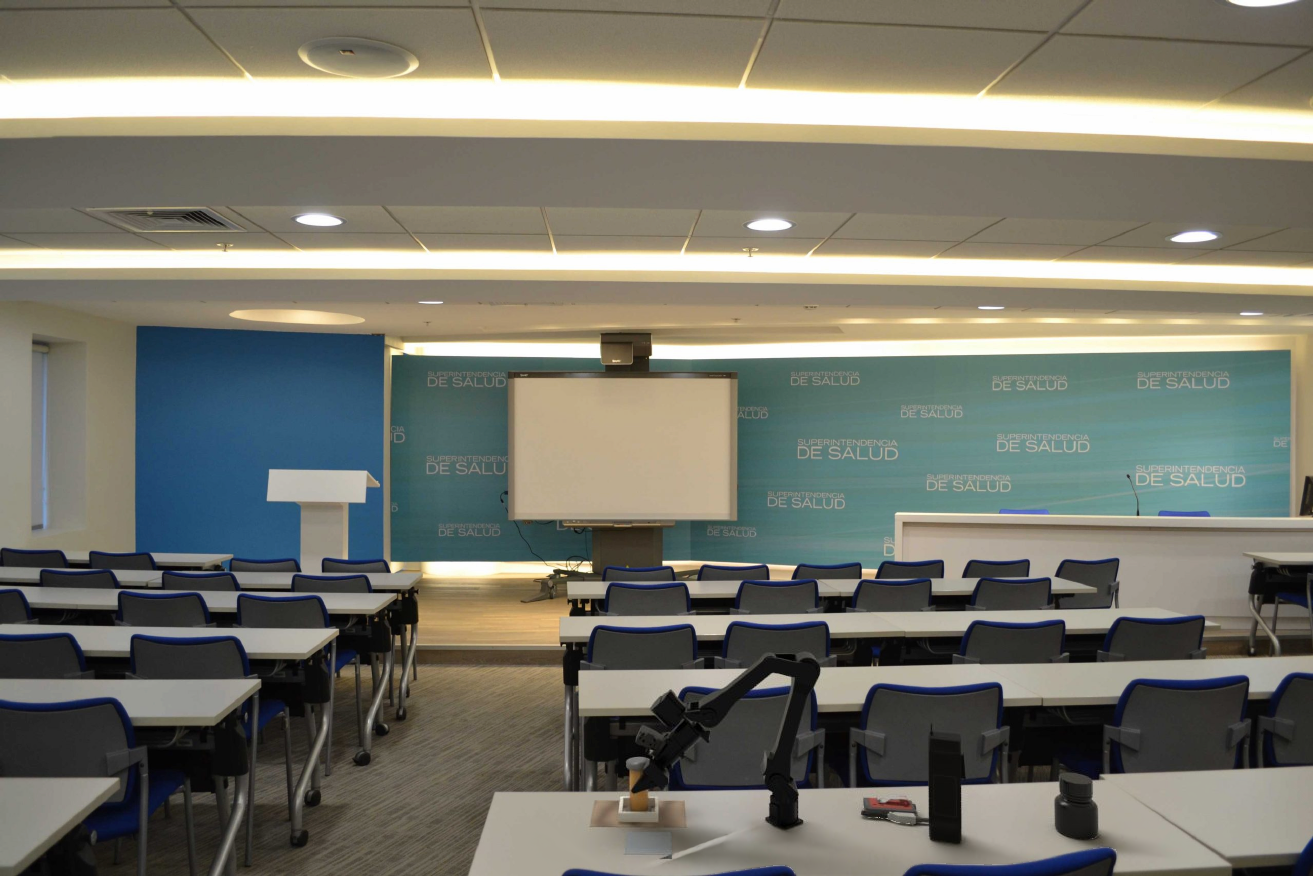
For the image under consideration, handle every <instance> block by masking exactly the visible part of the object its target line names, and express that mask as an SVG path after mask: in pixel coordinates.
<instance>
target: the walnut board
mask: <svg viewBox="0 0 1313 876" xmlns="http://www.w3.org/2000/svg"><path fill="white" fill-rule="evenodd" d="M619 803H620V800H610V799H609V800H599V799H598V800H594V801H593V805H592V806H593V807H592V813H591V817H590V822H589V823H590V824H589V828H687V816H686V814H687V813H686V804H685V803H686V802H685V800H658V822H618V812H619ZM627 807H628V806H623V812H626V808H627ZM650 807H651V808H652V812H655V806H650Z"/></svg>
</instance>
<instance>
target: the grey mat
mask: <svg viewBox="0 0 1313 876" xmlns="http://www.w3.org/2000/svg"><path fill="white" fill-rule="evenodd" d="M625 833H626V834H625V846H624V855H667V856H664V857H661V858H659V859H660V860H672V859H673V849H672V848H673V847H672V846H673V845H672V832H671V831H669V832H668V831H663V832H662V831H626V832H625Z"/></svg>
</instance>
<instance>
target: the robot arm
mask: <svg viewBox="0 0 1313 876" xmlns="http://www.w3.org/2000/svg"><path fill="white" fill-rule="evenodd" d="M821 670H822V669H821V667H820V664H819V662H818V661H817V659H816V657H815V655H814V654H812V653H811V652H809V651H800V652H798V653H791V652H784V653H783V652H781V653H777V652H776V653H775V652H771V651H769V652H765V653H763V654H762V656H761V657H760V658H758V660H756V661H755V662H754V663H753V664H751V665H750V666H749V667H747V669H745V670H744V671H743V672H742V673H741V674H739V675H738V676H737V677H735V678H734V679H733V680H732V681H730V682H729V683H728V684H727V685H726V686H724V687H722V688H721V689H717V690H715V691H713V692H710V693H709V694H707V695H705V696H703V697H702V698H701V699H700V700H695V701H687V702H685V703H684V702H683V701H682V700H681V699H680V698H679V697H678V696H677V694H676V693H675V691H674V690H672V689H669V690H668V691H666V692H665V693H663V694H662V695H660V696H659V697H657V699H656V700H655V701H654V702H653V703H652V704H651V706H650V707H649V711H650V712H651V713H652V714H654V716H655V717H656V718H657V719H658V720H659V721H660V722H661V723H662V724H663V725H664V726H665V727H666V728H668V727H669V728H673V729H672V730H671V731H668V732H667V731H666V732H665V733H664V734H661V733H659V732H658V731H656V730H654V729H652V728H651V727H648V726H647V725H645V724H641V726H640V728H639V731H637V732H638V733H637V735H636V736H635V741H634V742H635V743H636V744H637V746H638V745H639V746H643V748H646V749H645V758H648V759H649V760H648V761H647V762H646V764H645V763H644V764H643V773H642V775H641V776H640V778H639V779H638V780H637V782H636V783H635V784H634V786H633V787H632V789H631V792H632V793H633V794H635V793H638V792H641V791H644V790H648V791H649V790H650V789H655V788H657V787H658V788H659V789H660V790H662V791H663V790H664V789H665V788H667V786H668V785H669V782H670V772H671V771H672V770H673V769H674V765H676V763H677V762H678V761H679V760H680V759H681V760H683V759H685V757H686V753H687V752H688V751H689V750H690V749H691V748H693V746H694V745H695V744H697V742H698V741H700V740H701V738H702V740H703V741H704V742H705V743H706V744H710V740H711V739H710V734H711V729H714V728H716V727H717V726H719V724H720V723H721V722H722V721H723V720H724V718H726V716H727V715H728V713H730V710H731V709H732V708H733V707H734V705H735V704H736V703H737V702H738V701H740V700H741V699H742V698H743V697H745V696H746V695H747V694H748V693H749V692H751V691H752V690H753V689H755V687H757V686H758V685H759V684H760V683H762V682H763V681H764V680H765V679H767V678H768V677H769V676H770V675H772V674H777V675H781V676H786V677H790V689H789V695H788V697H787V701H786V704H785V707H784V711H783V715H782V719H781V723H780V725H779V729H778V733H777V736H776V741H775V743H774V745H773V747H772V748H771V750H768V749H764V753H763V759H762V761H761V763H760V769H761V776H762V777H763V782H764V785H765V788H766V789H767V790H768V791H769V792H771V794H770V795H769V803H768V815H767V816H766V817H764V818H765V820H764V821H766V822H768V823H770V824H772V825H774V826H776V827H778V828H780V829H782V830H788V829H791V828H793V827H796V826H798V825H800V824H804V819H802V818H800V817H799V795H800V794H799V791H798V787H797V784H796V783H797V782H796V780H795V778H794V777H793V776H792V775H791V769H792V766H791V765H792V764H791V763H792V752H793V748H794V745H795V741H796V738H797V735H798V731H799V728H800V724H801V720H802V718H803V717H802V716H803V713H804V710H805V707H806V702H807V699H808V698H809V697H808V696H809V695H810V694H811V692H812V690H813V689H814V687H815V686H816V683H817V682H818V680H819V678H820V675H821Z"/></svg>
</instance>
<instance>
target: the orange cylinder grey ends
mask: <svg viewBox="0 0 1313 876" xmlns="http://www.w3.org/2000/svg"><path fill="white" fill-rule="evenodd" d="M648 760H649V759H648V758H646V756H645V757H644V756H636V757H635V756H634V757H630V758H628V759H626V761H625V763H626V764H625V765H626V767H625V768H627V769H628V770H629V796H630V805H629V806H628V807H627V808H626V812H652V808H651V807H650V806H649V805H648V796H649V789H648V790H644V791H641V792H638V793H635V794H633V793H632V792H631V789H632V787H633V786H634V784H635V783H636V782H637V780H638V779H639V778H640V776H641V775H642V773H643V764H644V763H645V764H646V762H647V761H648Z"/></svg>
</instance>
